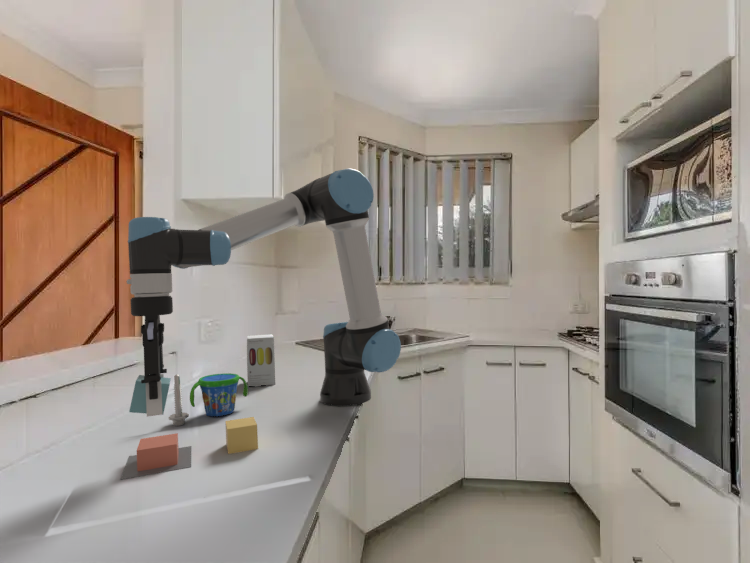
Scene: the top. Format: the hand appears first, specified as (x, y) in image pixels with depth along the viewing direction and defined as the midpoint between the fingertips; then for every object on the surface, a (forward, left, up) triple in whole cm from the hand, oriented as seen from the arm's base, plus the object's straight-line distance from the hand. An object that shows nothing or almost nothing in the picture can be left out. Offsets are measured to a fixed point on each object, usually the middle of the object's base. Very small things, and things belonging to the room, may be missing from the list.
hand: (156, 410), depth 90 cm
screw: (+10, -25, -11) cm, 29 cm away
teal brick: (+1, +1, 0) cm, 2 cm away
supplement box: (+4, -69, -11) cm, 70 cm away
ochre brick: (-14, -8, -11) cm, 20 cm away
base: (0, 0, -11) cm, 11 cm away
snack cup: (+3, -34, -11) cm, 36 cm away
